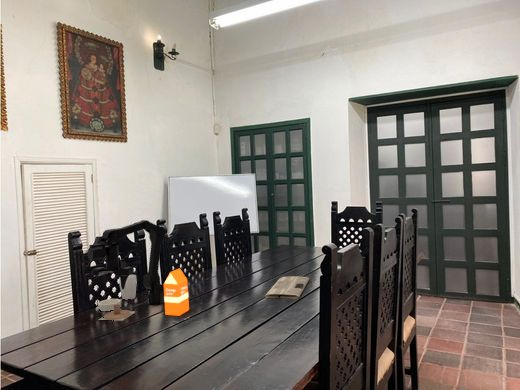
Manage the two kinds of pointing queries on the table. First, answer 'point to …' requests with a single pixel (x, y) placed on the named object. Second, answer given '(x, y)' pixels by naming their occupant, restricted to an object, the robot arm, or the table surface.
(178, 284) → the orange juice
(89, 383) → the table surface
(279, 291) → the newspaper
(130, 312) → the mat
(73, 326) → the table surface
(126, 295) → the cup
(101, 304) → the bowl
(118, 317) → the lid
